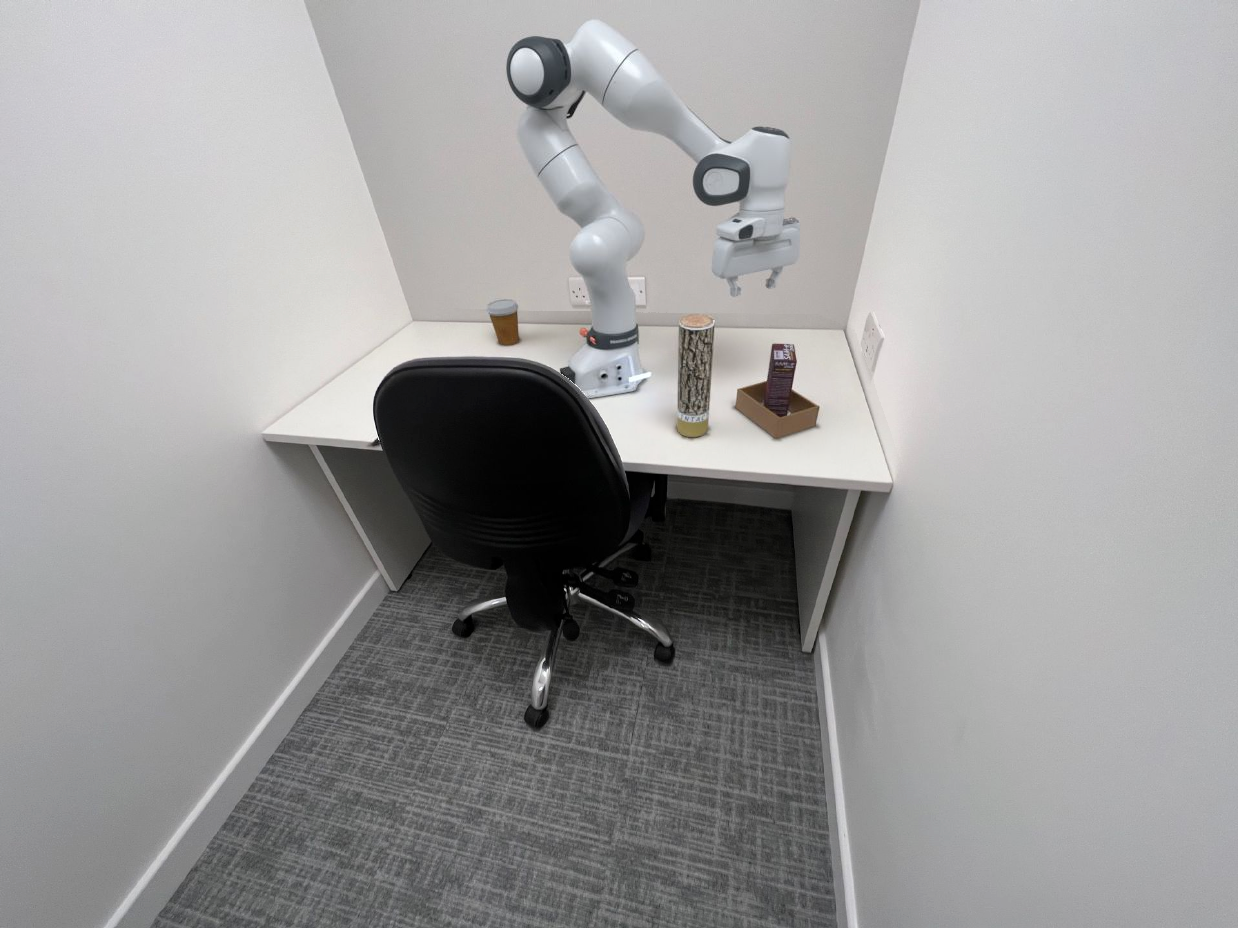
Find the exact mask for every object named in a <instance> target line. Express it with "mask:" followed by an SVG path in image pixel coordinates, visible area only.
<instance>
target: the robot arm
mask: <svg viewBox="0 0 1238 928" xmlns="http://www.w3.org/2000/svg"><path fill="white" fill-rule="evenodd" d="M505 65H506V66H505V67H506V68H505V69H506V70H505V71H506V77H507V82H508V84H509V87H510V90H511V91H512V92H513V94H514V95H515V96H516V97H517V99H519V100H520V101H521V102H522V103H524V104H525V105H526V109H525V110H524V111H523V112H522V113H521V115H520V116H519V118H518V121H517V122H516V127H515V135H516V139H517V141H518V144H519V145H520V148H521V150H522V153H523V154H524V157H525V159H526V160H527V162H528V165H529V166H530V168H531V170H532V172H533V173H534V175H535V176H536V177H537V180H538V181H539V182H540V184H541V186H542V187H543V189H544V190H545V192H546V193H547V195H548V196H549V198H550V200H551V201H552V203H553V205H554V206H555V207H556V209H557V210H558V211H559V212H560V213H561V214H562V215H564V216H566V217H568V218H570V219H571V220H573V222H575V223H576V224H577V225H578V226H579V228H581V229H580V230H579V232H578V233H577V234H576V235H575V237H574V238H573V239H572V241H571V243H570V245H569V259H570V262H571V265H572V267H573V268H574V270H575V271H576V272H577V274H579V275H580V276H581V277H582V280H583V281H584V284H585V287H586V291H587V294H588V299H589V304H590V314H591V324H592V325H591V327H590V329H589V330H588V329H587V328H586V327H581V328H580V329H579V335H580V336H582V338H586V339H585V340H586V343H584V344H583V345H582V346H581V347H580V348H579V350H577V351H576V352H575V353H574V354H573V355H572V356H571V357H570V358H569V359H568V361H567V362H568V363H567V366H564V367H560V368H559V374H560V373H561V374H563V375H564V376H566V377H567V378H569V380H571V381H572V382H573V383H574V384H576V385H577V386H578V387H579V388H580V389H581V391H583V393H585V395H586V396H587V398H588V399H593V398H600V397H606V396H607V397H608V396H612V395H618V394H624V393H632V392H635V391H636V390H637V388H638V385H639V384H641V382H642V381H644V379H646V378H649V377H651V375H652V372H650V371H649V372H644V368H643V367H642V362H641V358H640V351H639V344H640V331H639V323H637V303H636V302H637V301H636V300H637V299H636V297H637V296H636V293H635V291H634V289H633V288H632V287H631V285H630V281H629V277H628V274H627V265H628V262H629V261H631V260H632V259H633V258H634V257H636V256H637V254H638V253H639V251H641V248H642V246H643V243H644V241H645V237H646V231H645V227H644V224H643V222H642V220H641V219H640V218H639V216H637V215H636V214H635V213H633V212H631V211H630V210H628V209H627V208H626V207H625V206H624V204H622V202H620V200H619V199H618V198H617V197H616V196H615V195H614V194H613V193H612V191H611V190H610V189H609V188H608V187H607V186H606V185H605V183H603V181H602V180H601V178H600V177H599V175H598V174H597V172H596V170H595V169H594V167H593V166H592V164H591V163H590V161H589V159H588V158H587V156H586V154H585V152H584V151H583V150H582V147H581V146H580V145H579V143H578V141H577V140H576V138H575V136H574V135H573V133H572V132H571V129H570V127H569V125H568V121H567V120H568V119H572V117H573V116H574V114H575V112H576V110H577V109H578V106H579V104H580V103H581V102H582V101H583V99H584V97H585V95H586V93H587V94H588V95H590V96H591V97H592V98H593V99H595V101H596V102H598V103H599V104H600V105H601V107H603V108H604V110H605V111H607V113H608V114H610V115H611V116H612V117H613V118H615V120H617V121H619V122H620V123H621V124H623V125H624V126H625V127H628V128H630V129H632V130H635V131H640V132H647V133H652V134H656V135H659V136H662V137H665V138H667V139H668V140H670V141H671V142H672V143H674V144H675V145H676V146H677V147H678V148H679V149H680V150H682V151H683V152H684V153H685V154H686V155H687V157H689V158H690V159H691V160H692V161H694V162H695V163H696V166H695V168H694V171H693V175H692V187H693V191H694V193H695V196H696V197H697V198H698V200H699V201H700V202H701V203H703V204H705V205H707V206H710V207H721V206H725V205H730V204H733V203H739V208H738V212H736V213H735V214H734V215H732V216H731V217H729V218H728V219H725V220H724V221H722V222H721V223H719V224H718V225H717V226H716V229H715V230H716V231H715V233H716V236H718V238H717V239H716V240H715V242H714V244H713V245H714V246H713V249H712V260H711V272H712V274H713V275H714V276H715V277H717V278H719V279H726V281H727V284H728V286H729V287H730V290H729V295H730V296H731V297H733V298H734V297H735V298H736V297H739V296H741V291H742V288H741V287H740V286H738V285H737V282H738V280H739V276H744V275H749V274H754V273H758V272H763V271H768V270H770V271H771V273H770V275H769V277H768V278H766V279H765V288H766V289H769V290H771V289H774V288H776V287H777V281H778V279H779V278H780V276H781V274H782V273H783V269H784V268H783V267H787V266H793V265H795V264H796V262H797V261H798V259H799V255H800V241H801V240H800V238H801V237H800V230H801V222H800V221H799V220H798V219H797V218H796V217H789V218H784V217H785V210H786V200H785V195H786V194H785V193H786V191H787V190H786V189H787V186H788V184H789V180H790V172H791V162H792V141H791V138H790V136H789V135H788V133H786V132H785V131H784V130H782V129H779V128H776V127H770V126H754V127H751V128H750V129H749V130H748V131H747V132H746V133H745V134H743V135H742V136H741V137H739V138H738V139H735V140H734V141H729V140H727V139H724V138H722V137H721V136H719V135H718V134H717V133H716V132H715V131H713V129H712V128H710V127H709V126H708V125H707V124H706V123H705V122H704V121H703V120H701V118H699V116H697V115H696V114H695V113H694V112H693V111H692V110H691V109H690V108H689V107H688V106H687V105H686V104H685V103H684V102H683V101H682V99H681V98H680V97H679V96H678V95H677V94H676V92H675V91H674V90H673V88H672V87H671V86H670V85H669V83H668V82H667V81H666V79H665V78H664V76H663V75H662V74H661V73H660V72H659V71H658V69H657V68H656V67H655V66H654V64H653V63H652V62H651V61H650V60H649V59H648V58H647V57H646V55H645V54H644V53H643V52H642V51H641V50H640V49H639V48H638V47H637V46H636V45H635V44H634V43H632V42H631V41H630V39H628V38H627V37H626V36H624V35H623V34H622V33H620V32H619V31H618V30H616V29H615V28H614V27H613V26H611V25H609V24H607V23H606V22H604V21H603V20H601V19H597V18H592V19H589V20H587V21H585V22H584V23H583V24H582V25H581V26H579V28H578V29H577V31H576V32H575V33H574V35H573V37H572V39H571V41H570V42H568V43H564V42H562V40H561V39H559V38H551V37H545V36H539V35H532V36H527V37H523V38H521V39H520V40H518V41H517V42H515V44H513V46H512V47H511V48H510V51H509V52H508V55H507V59H506V64H505ZM380 442H381V441H379V440H378V437H376V438H375V439H374V440H373V442H372V443H371V447H376V446H378V445H379V443H380Z"/></svg>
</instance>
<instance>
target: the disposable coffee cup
mask: <svg viewBox="0 0 1238 928" xmlns="http://www.w3.org/2000/svg"><path fill="white" fill-rule="evenodd" d="M486 306H487V307H486V312H487V314H488V315H489V319H490V322H491V324H492V327H493V330H494V332H495V335H496V338H497V341H498V344H499V345H501V346H512V345H515V344H517V343H519V341H520V335H519V333H520V332H519V317H518V316H519V314H518V309H519V305H518V304H517V301H516V300H514V299H510V298H503V299H496V300H493V301H490V302H488V304H487V305H486Z"/></svg>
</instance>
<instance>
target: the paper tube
mask: <svg viewBox="0 0 1238 928" xmlns="http://www.w3.org/2000/svg"><path fill="white" fill-rule="evenodd" d="M678 321H679V322H678V348H677V349H678V353H677V354H678V355H677V356H678V357H677V399H676V400H677V403H676V404H677V405H676V415H677V416H676V429H677V431H678V433H679V434H680V435H682V436H684V437H687V438H698V437H702V436H704V435H706V433H707V432H708V430H709V417H710V404H711V403H710V401H711V390H712V389H711V386H712V373H713V356H714V340H715V326H716V325H715V324H716V323H715V322H716V320H715V318H713V317H712V316H710V315H707V314H688V315H684V316H682V317H680V319H679V320H678Z"/></svg>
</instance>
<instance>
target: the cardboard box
mask: <svg viewBox="0 0 1238 928" xmlns="http://www.w3.org/2000/svg"><path fill="white" fill-rule="evenodd" d="M766 383H767V380H765V381H761V382H757V383H754V384H750V385H747V386H743V387H740V388H737V389H736V398H735V409H736V410H737V411H738V412H740V413H742V414H743V415H744V416H745V417H747V418H748V419H749V420H750V421H752V422H753V423H754V424H756V425H757V426H758V427H760V428H761V429H762V430H764V431H765V432H766V433H767V434H769V435H770V436H772V437H773V439H776V440H778V439H780V438H784V437H787V436H790V435H793V434H796V433H799V432H801V431H802V432H803V431H805V430H808V429H811V428H814V427H816V426H817V420H818V416H819V412H820V405H818V404H816V403H814V402H813V401H812V400H810V399H808V398H807V397H805V396H803V395H802V394H800V393H798V392H797V391H796V390H794V389H792V391H791V396H790V402H789V407H788V411H790V412H791V413H790V414H787V416H783V417H778V416H777V415H776V414H774V413H773V412H771V411H770V410H769V409H767V408H766V407H764V406H763V404H761V402H764V397H765V390H766Z"/></svg>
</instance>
